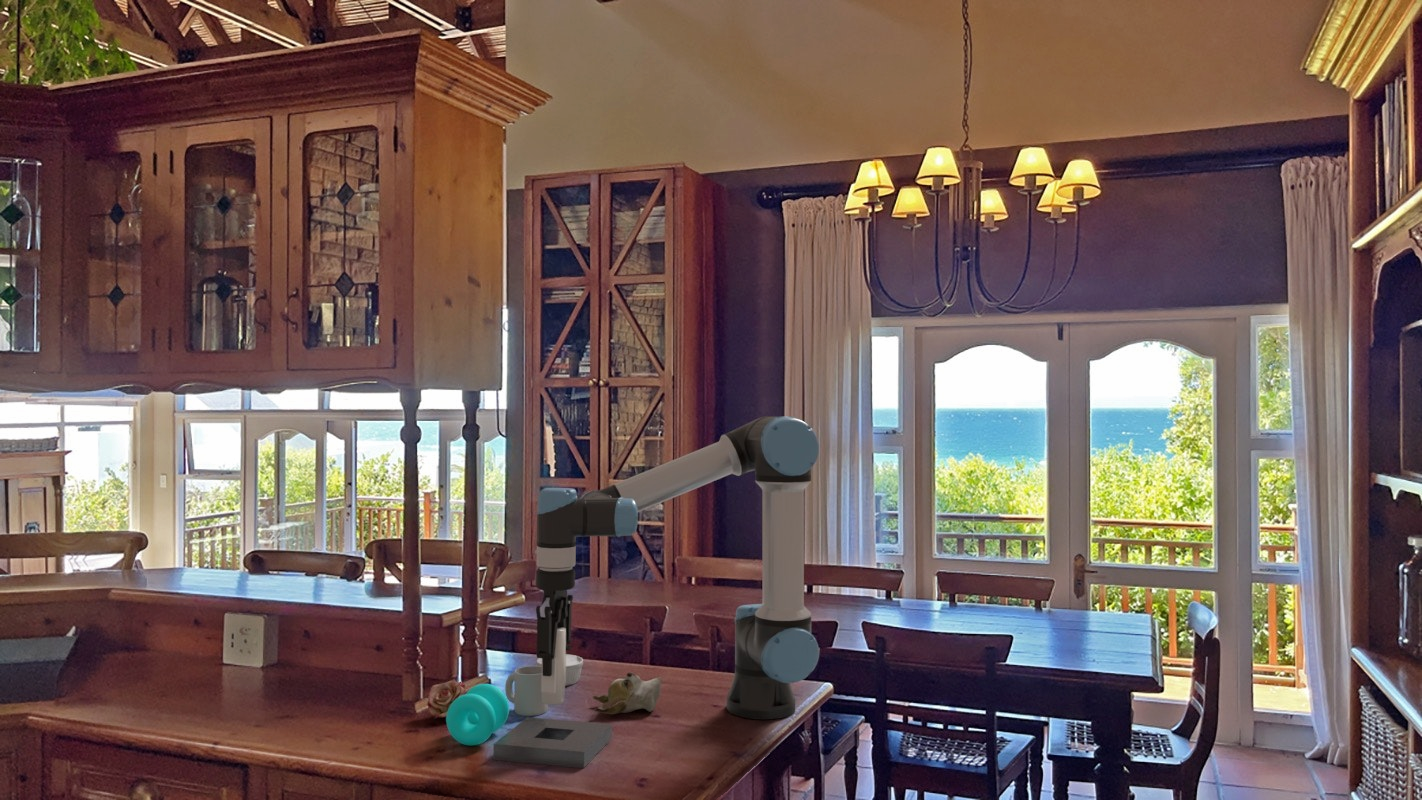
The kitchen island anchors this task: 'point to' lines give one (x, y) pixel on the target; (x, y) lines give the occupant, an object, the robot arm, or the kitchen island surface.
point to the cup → (526, 691)
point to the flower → (444, 697)
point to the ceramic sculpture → (630, 695)
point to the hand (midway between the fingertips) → (553, 687)
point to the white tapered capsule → (558, 671)
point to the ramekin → (570, 668)
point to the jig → (553, 742)
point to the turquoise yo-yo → (477, 714)
